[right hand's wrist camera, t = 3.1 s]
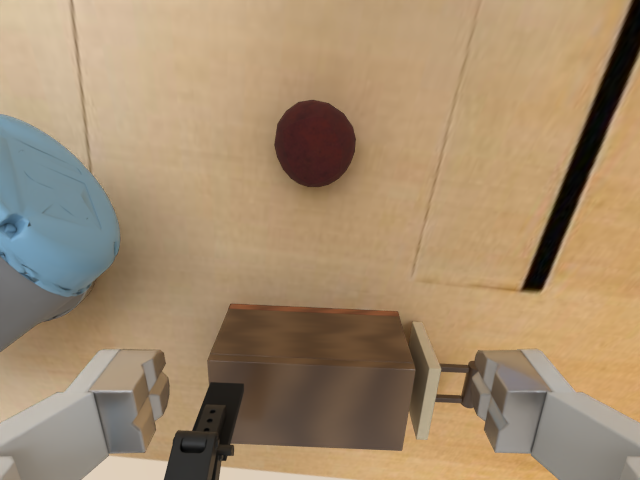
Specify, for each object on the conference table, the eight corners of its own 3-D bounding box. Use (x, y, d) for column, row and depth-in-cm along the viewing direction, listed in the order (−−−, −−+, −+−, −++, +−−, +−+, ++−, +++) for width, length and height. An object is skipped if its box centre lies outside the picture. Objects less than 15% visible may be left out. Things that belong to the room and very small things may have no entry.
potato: (296, 186, 42) (291, 206, 35) (266, 114, 39) (254, 121, 33) (363, 161, 41) (371, 177, 34) (337, 85, 38) (340, 86, 32)
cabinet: (397, 311, 48) (416, 369, 38) (388, 382, 52) (402, 451, 42) (230, 303, 48) (206, 360, 38) (233, 375, 51) (212, 443, 42)
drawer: (472, 324, 47) (500, 371, 39) (458, 387, 50) (482, 442, 43) (264, 314, 47) (252, 360, 39) (264, 378, 50) (254, 432, 43)
